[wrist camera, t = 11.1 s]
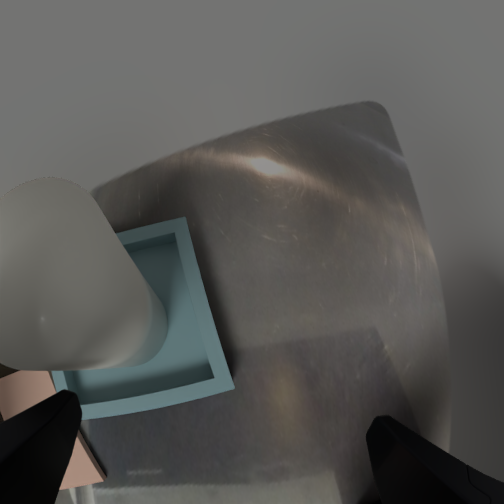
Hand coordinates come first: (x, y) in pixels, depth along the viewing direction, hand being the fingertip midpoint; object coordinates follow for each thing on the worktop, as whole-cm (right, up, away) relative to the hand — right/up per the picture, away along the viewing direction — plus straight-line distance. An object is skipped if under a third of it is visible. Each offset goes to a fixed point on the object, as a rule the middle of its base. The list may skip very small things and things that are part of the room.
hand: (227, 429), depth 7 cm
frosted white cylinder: (-8, 0, +11) cm, 14 cm away
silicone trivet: (-15, -9, +8) cm, 20 cm away
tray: (-8, 0, +12) cm, 15 cm away
